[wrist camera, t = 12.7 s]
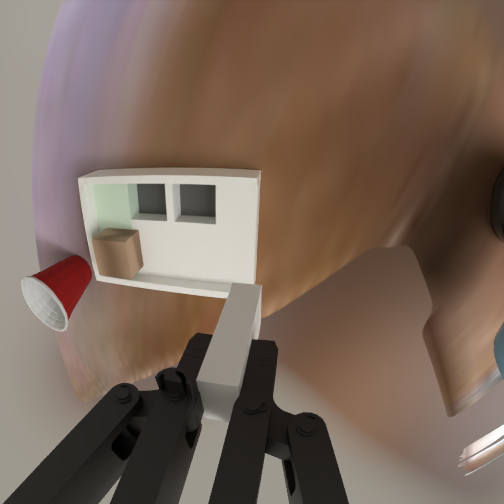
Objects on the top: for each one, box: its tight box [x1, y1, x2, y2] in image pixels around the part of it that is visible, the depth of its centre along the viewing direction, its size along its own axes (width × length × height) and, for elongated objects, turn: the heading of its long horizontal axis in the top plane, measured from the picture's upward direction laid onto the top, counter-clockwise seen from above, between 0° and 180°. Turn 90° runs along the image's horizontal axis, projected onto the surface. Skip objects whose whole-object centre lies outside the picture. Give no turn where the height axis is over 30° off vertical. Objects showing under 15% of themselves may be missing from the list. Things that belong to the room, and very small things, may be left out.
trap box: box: [78, 168, 261, 299], centre depth 37 cm, size 24×16×5 cm, turn 88°
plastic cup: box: [21, 256, 92, 332], centre depth 40 cm, size 11×11×12 cm
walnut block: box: [92, 228, 144, 280], centre depth 37 cm, size 6×6×4 cm
